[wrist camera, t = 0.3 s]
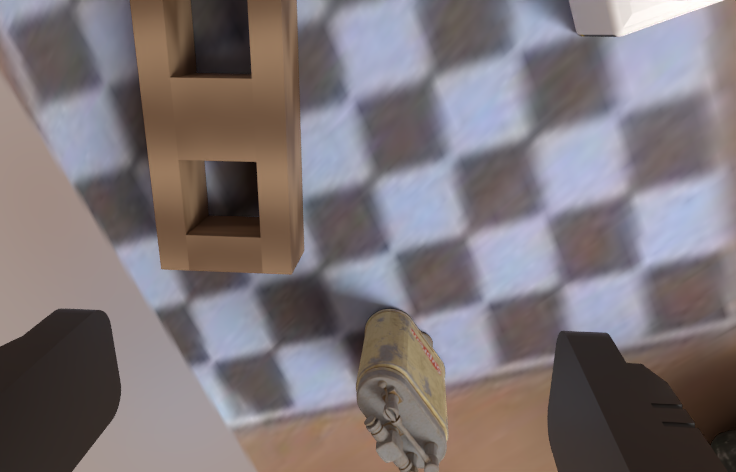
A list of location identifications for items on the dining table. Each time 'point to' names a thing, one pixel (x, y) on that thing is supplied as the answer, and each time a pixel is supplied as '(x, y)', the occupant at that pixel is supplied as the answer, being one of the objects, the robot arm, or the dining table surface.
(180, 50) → the socket block
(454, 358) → the dining table surface
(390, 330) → the lighter
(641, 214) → the dining table surface
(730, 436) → the squash
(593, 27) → the medicine bottle
